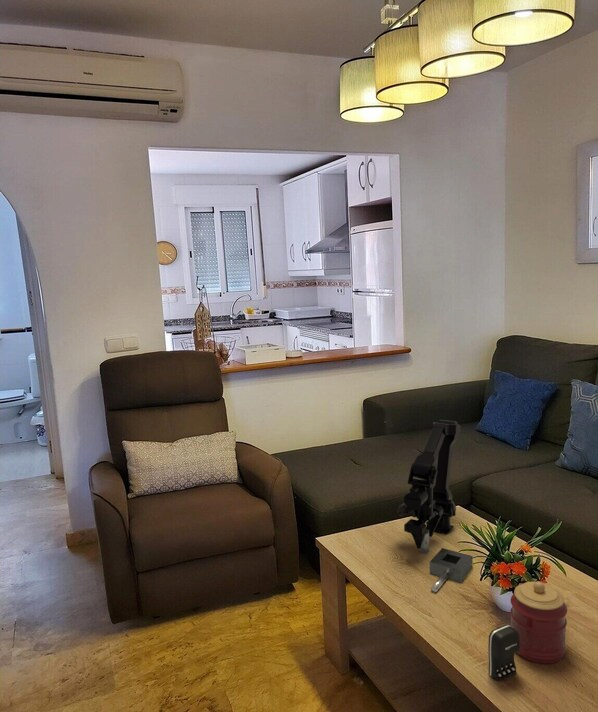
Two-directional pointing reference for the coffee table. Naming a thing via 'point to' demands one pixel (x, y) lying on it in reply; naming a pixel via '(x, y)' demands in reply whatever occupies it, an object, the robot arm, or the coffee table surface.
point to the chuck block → (450, 567)
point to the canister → (539, 622)
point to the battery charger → (503, 651)
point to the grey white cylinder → (425, 543)
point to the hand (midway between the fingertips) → (424, 542)
